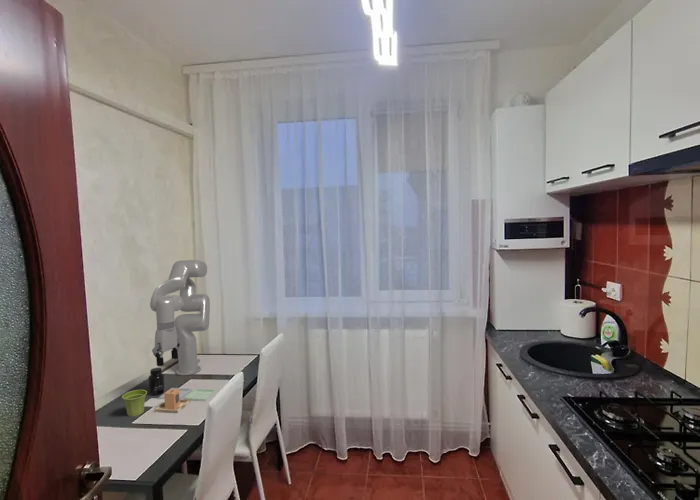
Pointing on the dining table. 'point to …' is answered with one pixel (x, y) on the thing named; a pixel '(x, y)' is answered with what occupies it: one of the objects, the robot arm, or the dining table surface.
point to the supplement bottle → (156, 382)
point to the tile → (153, 402)
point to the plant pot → (134, 402)
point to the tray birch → (178, 409)
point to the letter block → (172, 399)
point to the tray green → (200, 394)
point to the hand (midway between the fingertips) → (167, 362)
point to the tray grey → (182, 392)
